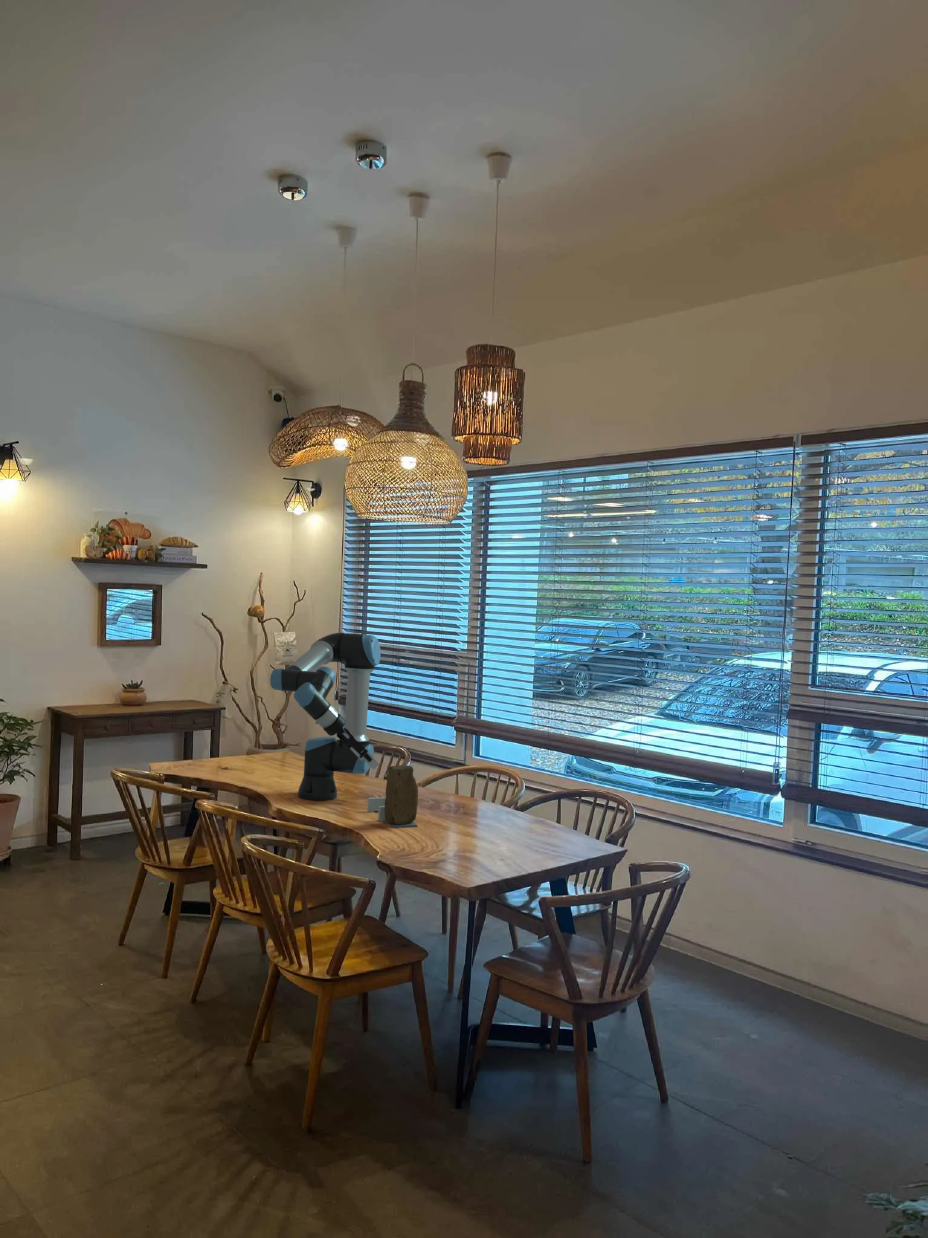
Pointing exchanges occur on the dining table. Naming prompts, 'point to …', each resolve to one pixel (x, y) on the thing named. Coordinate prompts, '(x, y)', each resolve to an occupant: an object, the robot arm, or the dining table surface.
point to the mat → (401, 824)
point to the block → (401, 795)
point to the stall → (377, 807)
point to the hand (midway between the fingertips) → (370, 762)
